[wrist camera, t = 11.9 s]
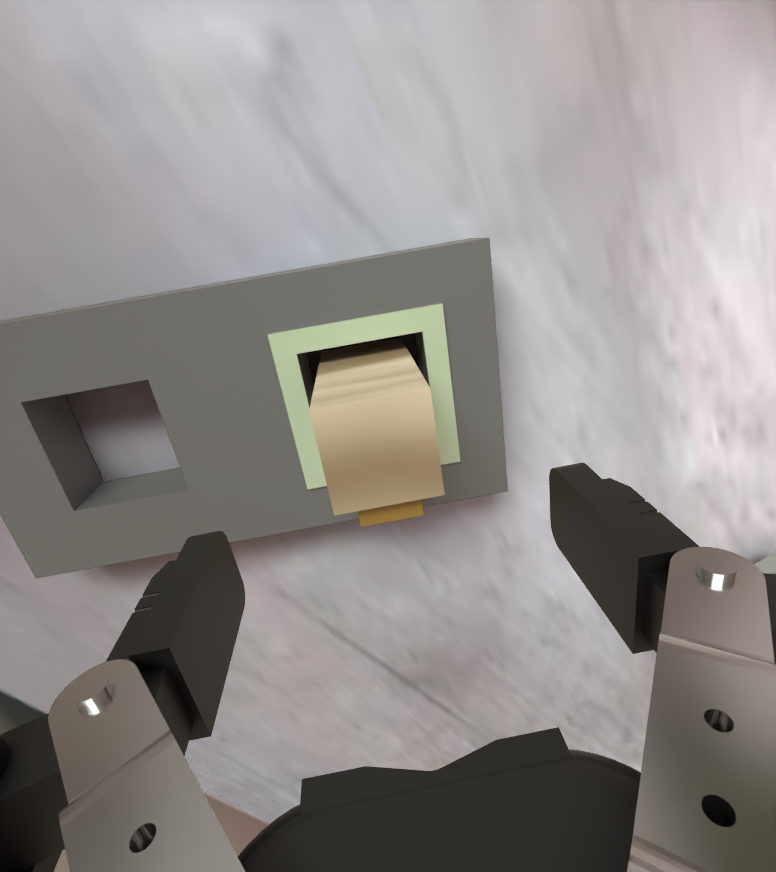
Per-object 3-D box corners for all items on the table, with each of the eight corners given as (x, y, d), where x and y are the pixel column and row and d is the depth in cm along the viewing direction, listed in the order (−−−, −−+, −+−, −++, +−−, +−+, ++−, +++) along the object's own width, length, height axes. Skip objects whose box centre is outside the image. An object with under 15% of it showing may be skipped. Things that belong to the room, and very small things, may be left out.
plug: (321, 352, 24) (309, 410, 15) (400, 337, 24) (430, 388, 15) (341, 442, 26) (339, 538, 17) (414, 429, 26) (447, 518, 17)
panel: (-41, 328, 22) (-102, 341, 19) (471, 238, 22) (490, 237, 19) (68, 543, 26) (33, 580, 23) (490, 465, 27) (509, 493, 24)
